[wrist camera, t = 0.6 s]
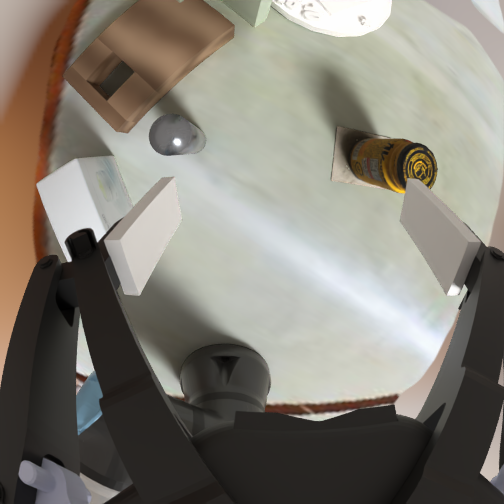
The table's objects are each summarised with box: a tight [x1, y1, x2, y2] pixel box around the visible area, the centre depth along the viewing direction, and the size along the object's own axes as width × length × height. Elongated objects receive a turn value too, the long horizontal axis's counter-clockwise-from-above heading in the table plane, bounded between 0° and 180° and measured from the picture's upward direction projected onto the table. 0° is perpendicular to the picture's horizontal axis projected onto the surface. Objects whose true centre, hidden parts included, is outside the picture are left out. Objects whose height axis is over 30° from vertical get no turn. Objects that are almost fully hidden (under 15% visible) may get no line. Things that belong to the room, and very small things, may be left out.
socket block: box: [63, 0, 235, 133], centre depth 25 cm, size 18×12×4 cm, turn 132°
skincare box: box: [36, 155, 133, 262], centre depth 28 cm, size 10×6×10 cm, turn 18°
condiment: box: [331, 126, 438, 193], centre depth 29 cm, size 7×8×12 cm
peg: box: [149, 114, 206, 156], centre depth 25 cm, size 3×3×14 cm
